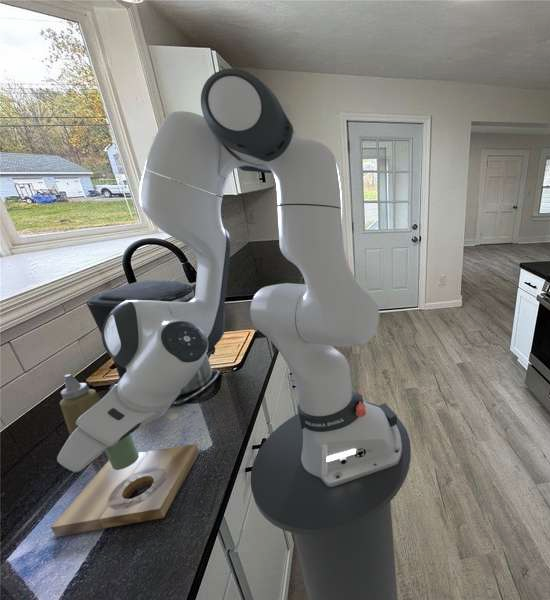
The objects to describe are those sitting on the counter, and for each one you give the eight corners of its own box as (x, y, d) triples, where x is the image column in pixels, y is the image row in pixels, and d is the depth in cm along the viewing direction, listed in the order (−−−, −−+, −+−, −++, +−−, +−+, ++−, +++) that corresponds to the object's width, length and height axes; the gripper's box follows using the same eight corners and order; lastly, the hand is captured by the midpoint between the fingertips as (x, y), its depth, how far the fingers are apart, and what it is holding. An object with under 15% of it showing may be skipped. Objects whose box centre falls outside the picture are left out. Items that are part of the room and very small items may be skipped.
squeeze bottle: (85, 427, 84) (58, 370, 78) (122, 420, 86) (97, 363, 80) (66, 450, 77) (33, 388, 70) (106, 441, 79) (78, 381, 73)
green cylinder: (144, 451, 63) (125, 404, 59) (130, 468, 59) (109, 419, 56) (121, 454, 63) (101, 407, 59) (106, 472, 59) (83, 422, 55)
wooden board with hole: (199, 452, 74) (196, 443, 74) (163, 518, 60) (159, 508, 59) (115, 464, 72) (111, 456, 71) (55, 537, 57) (50, 527, 56)
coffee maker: (207, 402, 92) (174, 294, 80) (77, 424, 85) (20, 309, 74) (228, 362, 113) (204, 272, 101) (125, 377, 106) (86, 283, 94)
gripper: (174, 354, 64) (145, 393, 68) (65, 425, 45) (34, 473, 49) (200, 373, 65) (169, 411, 69) (104, 450, 46) (71, 496, 50)
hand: (112, 437), depth 59 cm, fingers closed on green cylinder, 4 cm apart
